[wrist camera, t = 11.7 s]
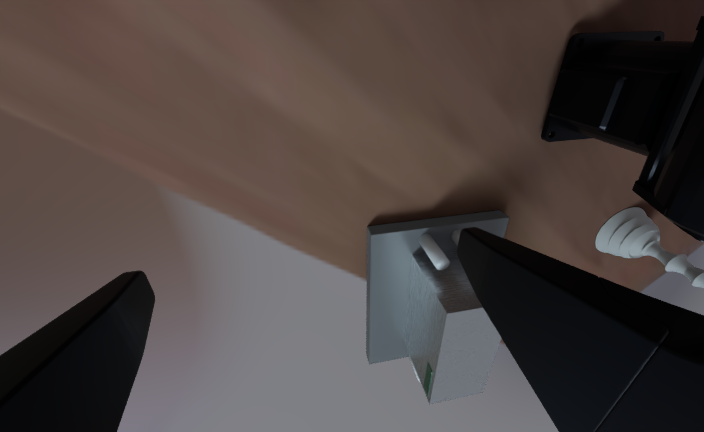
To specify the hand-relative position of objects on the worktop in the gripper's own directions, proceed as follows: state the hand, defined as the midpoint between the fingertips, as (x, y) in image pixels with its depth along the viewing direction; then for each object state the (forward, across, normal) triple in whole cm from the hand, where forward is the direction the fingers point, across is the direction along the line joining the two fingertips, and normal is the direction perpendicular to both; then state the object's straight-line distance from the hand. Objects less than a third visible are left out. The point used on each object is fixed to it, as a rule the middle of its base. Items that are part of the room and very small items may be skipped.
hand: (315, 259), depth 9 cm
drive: (+11, -10, +14) cm, 21 cm away
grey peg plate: (+12, -10, +14) cm, 21 cm away
